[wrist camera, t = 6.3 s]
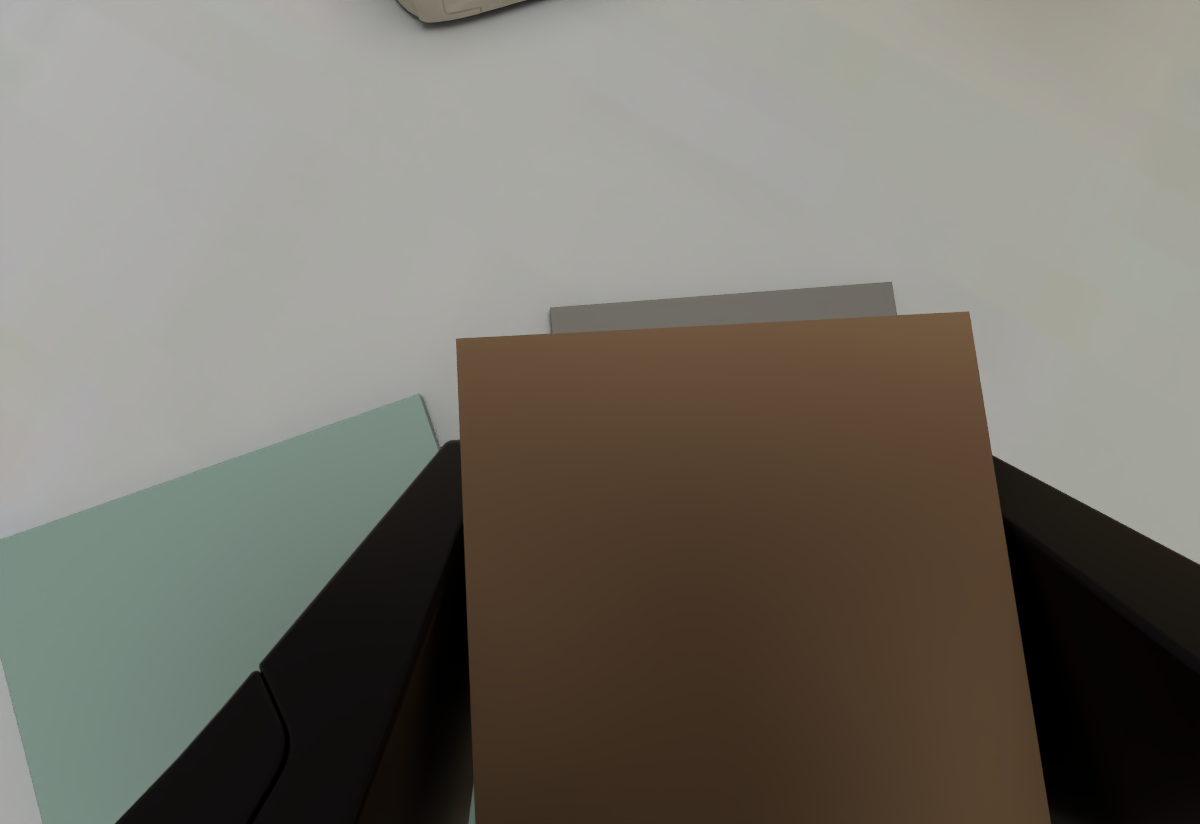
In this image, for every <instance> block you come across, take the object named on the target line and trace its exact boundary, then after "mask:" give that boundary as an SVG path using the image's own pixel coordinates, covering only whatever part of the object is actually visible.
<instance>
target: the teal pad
mask: <svg viewBox="0 0 1200 824" xmlns="http://www.w3.org/2000/svg"><path fill="white" fill-rule="evenodd" d="M439 450H440V447H439V444H438V441H437V438H436V435H435V432H434V429H433V426H432V424H431V421H430V418H429V415H428V412H427V409H426V406H425V403H424V400H423V397H422V396H421V395H420V394H417V395H414V396H412V397H409V398H406V399H403V400H400V401H397V402H394V403H391V404H389V405H386V406H383V407H380V408H377V409H374V410H371V411H369V412H366V413H363V414H360V415H357V416H354V417H351V418H348V419H346V420H343V421H340V422H337V423H334V424H331V425H328V426H325V427H323V428H320V429H317V430H314V431H311V432H308V433H305V434H303V435H300V436H297V437H294V438H291V439H288V440H285V441H282V442H280V443H277V444H274V445H271V446H268V447H265V448H262V449H259V450H257V451H254V452H251V453H248V454H245V455H242V456H239V457H237V458H234V459H231V460H228V461H225V462H222V463H219V464H216V465H214V466H211V467H208V468H205V469H202V470H199V471H196V472H193V473H191V474H188V475H185V476H182V477H179V478H176V479H173V480H171V481H168V482H165V483H162V484H159V485H156V486H153V487H150V488H148V489H145V490H142V491H139V492H136V493H133V494H130V495H127V496H125V497H122V498H119V499H116V500H113V501H110V502H107V503H105V504H102V505H99V506H96V507H93V508H90V509H87V510H84V511H82V512H79V513H76V514H73V515H70V516H67V517H64V518H61V519H59V520H56V521H53V522H50V523H47V524H44V525H41V526H39V527H36V528H33V529H30V530H27V531H24V532H21V533H18V534H16V535H13V536H10V537H7V538H4V539H1V540H0V657H1V661H2V665H3V669H4V673H5V677H6V681H7V685H8V689H9V693H10V697H11V701H12V705H13V708H14V712H15V716H16V720H17V724H18V728H19V732H20V736H21V740H22V744H23V748H24V752H25V756H26V760H27V764H28V767H29V771H30V775H31V779H32V783H33V787H34V791H35V795H36V799H37V803H38V807H39V811H40V815H41V819H42V822H43V824H115V823H116V822H117V820H118V819H119V818H120V817H121V816H122V815H123V814H124V813H125V812H126V811H127V810H128V809H129V808H130V807H131V806H132V805H133V804H134V803H135V802H136V801H137V800H138V799H139V798H140V797H141V795H142V794H143V793H144V792H145V791H146V790H147V789H148V788H149V787H150V786H151V785H152V784H153V783H154V782H155V781H156V780H157V779H158V778H159V777H160V776H161V775H162V774H163V773H164V771H165V770H166V769H167V768H168V767H169V766H170V765H171V764H172V763H173V762H174V761H175V760H176V759H177V758H178V757H179V756H180V754H181V753H182V752H183V751H184V750H185V749H186V748H187V747H188V745H189V744H190V743H191V742H192V741H193V740H194V739H195V737H196V736H197V735H198V734H199V733H200V732H201V731H202V730H203V728H204V727H205V726H206V725H207V724H208V723H209V722H210V720H211V719H212V718H213V717H214V716H215V715H216V714H217V713H218V711H219V710H220V709H221V708H222V707H223V706H224V705H225V703H226V702H227V701H228V700H229V699H230V697H231V696H232V695H233V694H234V693H235V692H236V690H237V689H238V688H239V687H240V686H241V684H242V683H243V682H244V681H245V680H246V678H247V677H248V676H249V675H250V674H251V673H252V672H253V671H259V672H260V670H259V664H260V662H261V661H262V660H263V659H264V658H265V656H266V655H267V654H268V653H269V652H270V650H271V649H272V648H273V647H274V646H275V645H276V643H277V642H278V641H279V640H280V639H281V637H282V636H283V635H284V634H285V633H286V631H287V630H288V629H289V628H290V627H291V626H292V624H293V623H294V622H295V621H296V620H297V618H298V617H299V616H300V615H301V614H302V612H303V611H304V610H305V609H306V608H307V606H308V605H309V604H310V603H311V602H312V601H313V599H314V598H315V597H316V596H317V595H318V593H319V592H320V591H321V590H322V589H323V587H324V586H325V585H326V584H327V583H328V582H329V580H330V579H331V578H332V577H333V576H334V574H335V573H336V572H337V571H338V570H339V568H340V567H341V566H342V565H343V564H344V563H345V561H346V560H347V559H348V558H349V557H350V555H351V554H352V553H353V552H354V551H355V549H356V548H357V547H358V546H359V545H360V544H361V542H362V541H363V540H364V539H365V538H366V536H367V535H368V534H369V533H370V532H371V530H372V529H373V528H374V527H375V526H376V525H377V523H378V522H379V521H380V520H381V519H382V517H383V516H384V515H385V514H386V513H387V511H388V510H389V509H390V508H391V507H392V506H393V504H394V503H395V502H396V501H397V500H398V498H399V497H400V496H401V495H402V494H403V492H404V491H405V490H406V489H407V488H408V486H409V485H410V484H411V483H412V482H413V481H414V479H415V478H416V477H417V476H418V475H419V473H420V472H421V471H422V470H423V469H424V467H425V466H426V465H427V464H428V463H429V462H430V460H431V459H432V458H433V457H434V456H435V454H436V453H437V452H438V451H439ZM260 673H261V672H260ZM469 824H475V803H474V784H473V792H472V800H471V808H470V816H469Z"/></svg>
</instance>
